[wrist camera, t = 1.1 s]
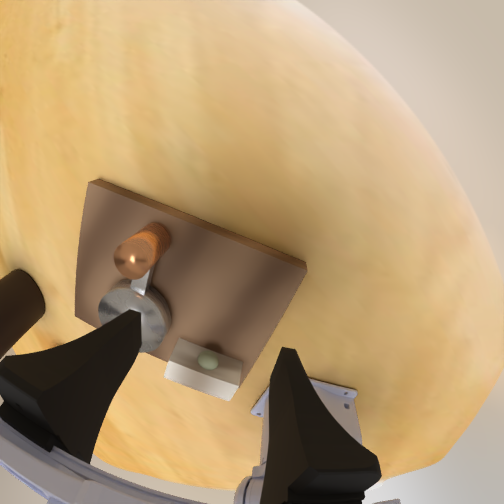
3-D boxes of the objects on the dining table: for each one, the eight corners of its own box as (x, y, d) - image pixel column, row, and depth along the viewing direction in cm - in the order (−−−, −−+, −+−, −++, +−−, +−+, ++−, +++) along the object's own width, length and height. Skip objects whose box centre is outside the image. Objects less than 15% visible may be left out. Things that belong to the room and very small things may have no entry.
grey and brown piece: (163, 347, 24) (148, 380, 20) (106, 320, 23) (84, 348, 20) (197, 239, 20) (179, 264, 16) (124, 209, 19) (93, 226, 15)
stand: (305, 262, 22) (312, 291, 17) (240, 377, 27) (235, 411, 23) (98, 178, 20) (65, 189, 16) (82, 308, 26) (59, 332, 21)
